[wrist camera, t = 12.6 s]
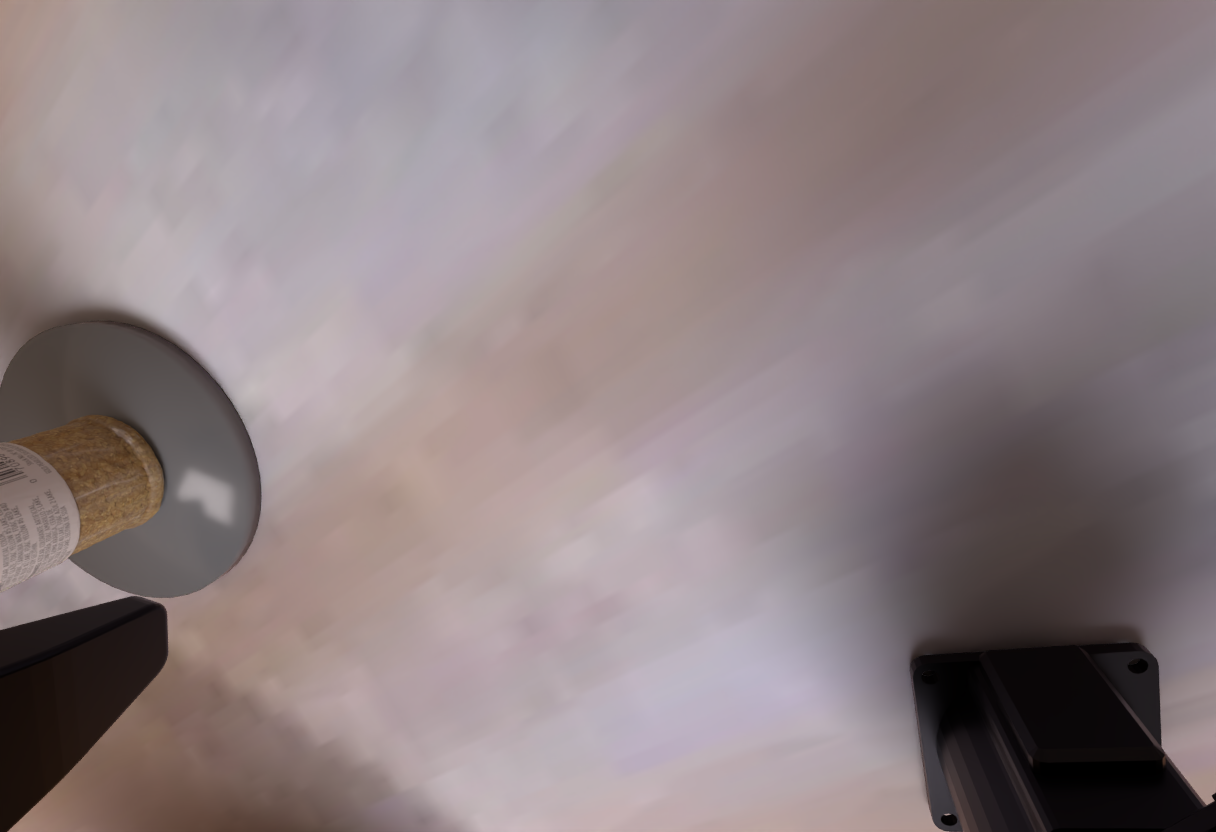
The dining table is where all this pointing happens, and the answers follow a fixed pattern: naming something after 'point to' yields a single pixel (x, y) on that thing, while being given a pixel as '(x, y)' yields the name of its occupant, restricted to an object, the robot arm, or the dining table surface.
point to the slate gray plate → (175, 430)
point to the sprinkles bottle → (72, 492)
